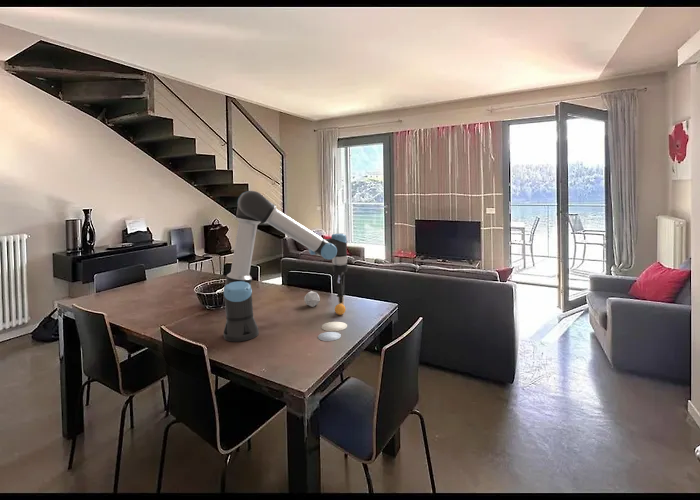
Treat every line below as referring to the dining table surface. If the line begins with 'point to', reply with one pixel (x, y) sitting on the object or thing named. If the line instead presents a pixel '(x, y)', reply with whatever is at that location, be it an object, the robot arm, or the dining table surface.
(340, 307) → the ball
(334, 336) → the disc
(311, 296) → the die
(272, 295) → the dining table surface
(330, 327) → the disc
